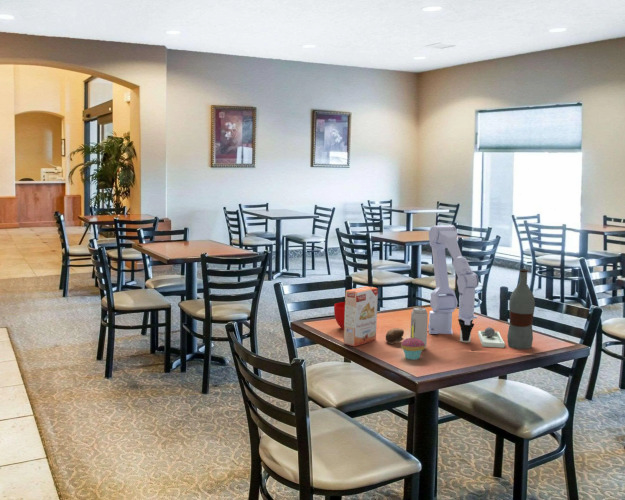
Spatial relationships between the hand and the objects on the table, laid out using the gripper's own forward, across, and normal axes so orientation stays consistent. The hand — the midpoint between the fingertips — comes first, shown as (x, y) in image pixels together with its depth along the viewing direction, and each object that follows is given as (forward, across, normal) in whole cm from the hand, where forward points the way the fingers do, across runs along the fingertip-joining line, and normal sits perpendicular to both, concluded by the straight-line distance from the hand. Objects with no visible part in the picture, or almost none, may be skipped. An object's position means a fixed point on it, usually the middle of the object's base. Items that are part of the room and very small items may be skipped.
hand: (465, 339), depth 252 cm
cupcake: (+2, -25, +20) cm, 32 cm away
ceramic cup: (+2, +14, +45) cm, 47 cm away
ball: (+1, +8, -10) cm, 13 cm away
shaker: (+1, 0, 0) cm, 1 cm away
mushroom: (+2, -6, +27) cm, 28 cm away
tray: (+1, +2, -10) cm, 10 cm away
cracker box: (+2, -8, +40) cm, 41 cm away
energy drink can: (+2, -12, +18) cm, 22 cm away
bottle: (+2, -3, -20) cm, 20 cm away
